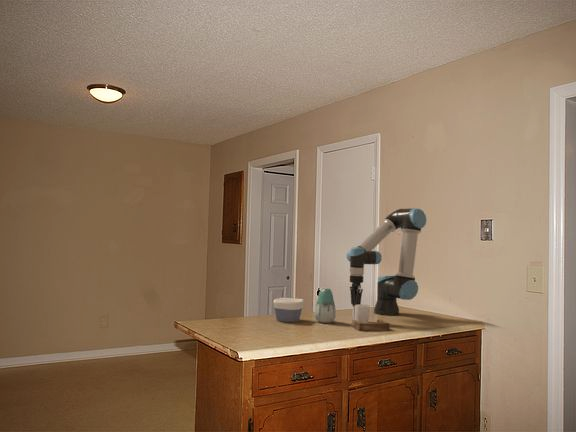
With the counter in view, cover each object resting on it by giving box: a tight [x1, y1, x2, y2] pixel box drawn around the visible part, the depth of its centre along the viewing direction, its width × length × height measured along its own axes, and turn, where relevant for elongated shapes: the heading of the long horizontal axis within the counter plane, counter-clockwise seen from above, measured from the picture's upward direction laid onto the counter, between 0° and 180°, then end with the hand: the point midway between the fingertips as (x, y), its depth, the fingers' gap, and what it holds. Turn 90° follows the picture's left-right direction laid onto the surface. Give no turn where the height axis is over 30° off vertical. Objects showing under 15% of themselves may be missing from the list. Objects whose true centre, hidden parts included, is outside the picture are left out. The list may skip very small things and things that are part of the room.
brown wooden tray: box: [351, 319, 390, 332], centre depth 249 cm, size 10×16×4 cm, turn 105°
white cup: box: [354, 304, 371, 323], centre depth 259 cm, size 8×8×10 cm
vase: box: [314, 288, 337, 324], centre depth 263 cm, size 12×12×18 cm
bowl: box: [272, 297, 305, 323], centre depth 264 cm, size 15×15×11 cm
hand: (355, 318), depth 268 cm, fingers closed
